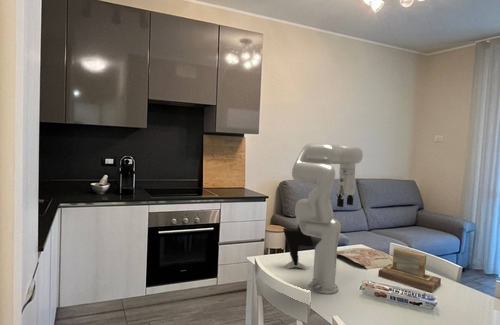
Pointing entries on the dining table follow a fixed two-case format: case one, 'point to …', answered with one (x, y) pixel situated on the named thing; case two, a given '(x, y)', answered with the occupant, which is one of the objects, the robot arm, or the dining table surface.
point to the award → (296, 245)
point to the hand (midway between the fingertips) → (345, 205)
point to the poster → (368, 257)
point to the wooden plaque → (409, 262)
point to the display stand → (410, 279)
